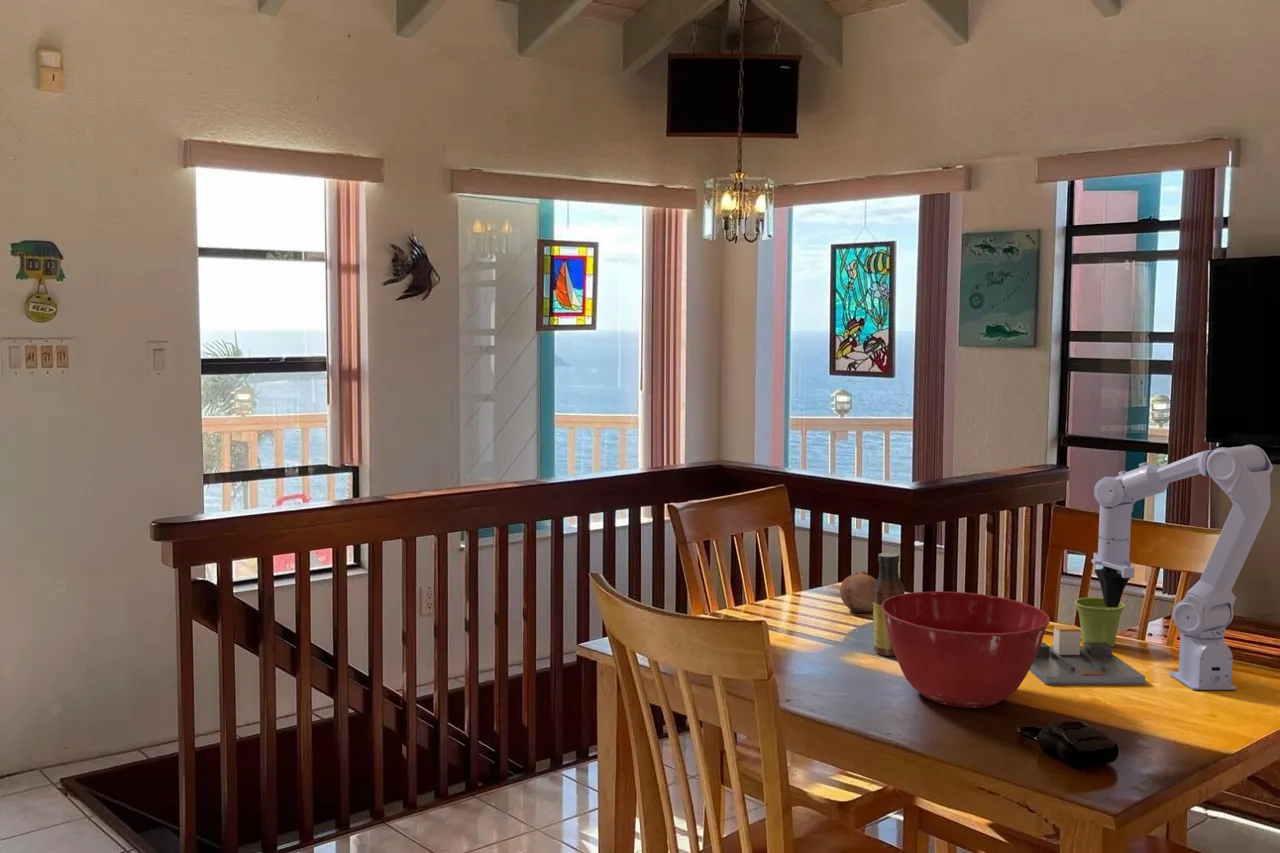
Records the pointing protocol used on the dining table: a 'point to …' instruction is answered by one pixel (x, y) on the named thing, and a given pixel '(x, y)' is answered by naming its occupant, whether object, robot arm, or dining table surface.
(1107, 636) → the plant pot
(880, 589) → the sauce bottle
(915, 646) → the mixing bowl
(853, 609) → the onion
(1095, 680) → the panel
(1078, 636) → the white orange block
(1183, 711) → the dining table surface
